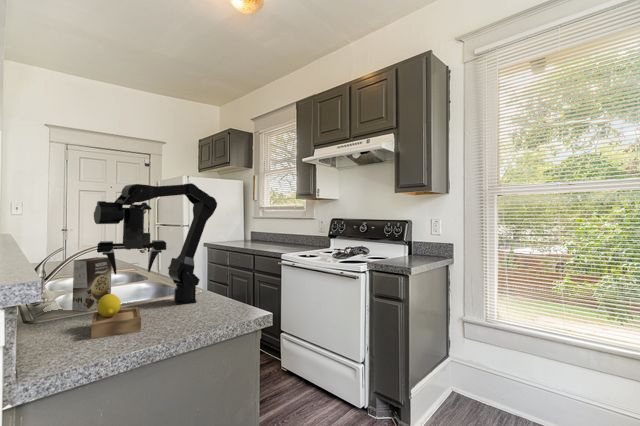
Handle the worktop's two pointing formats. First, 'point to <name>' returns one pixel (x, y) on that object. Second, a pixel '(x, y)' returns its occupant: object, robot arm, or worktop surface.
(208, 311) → the worktop surface
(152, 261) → the robot arm
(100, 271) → the cookie box
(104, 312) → the lemon
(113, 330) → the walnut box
